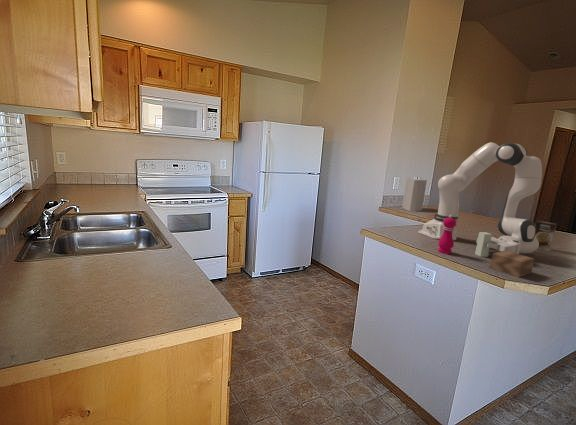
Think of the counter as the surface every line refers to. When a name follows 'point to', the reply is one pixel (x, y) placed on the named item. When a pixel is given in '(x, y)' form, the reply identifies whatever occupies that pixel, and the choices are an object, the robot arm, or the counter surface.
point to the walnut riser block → (512, 263)
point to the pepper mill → (447, 236)
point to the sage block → (483, 244)
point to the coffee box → (545, 234)
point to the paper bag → (414, 194)
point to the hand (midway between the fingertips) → (481, 243)
